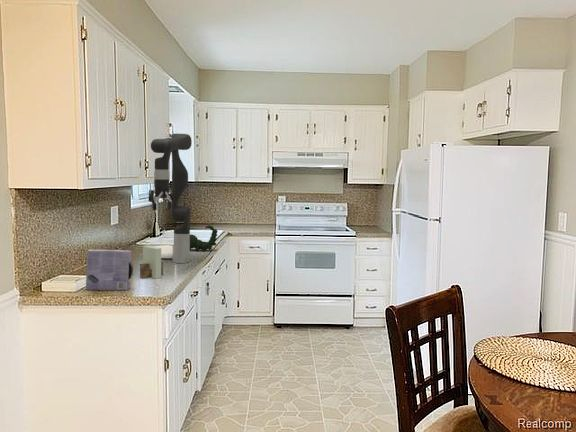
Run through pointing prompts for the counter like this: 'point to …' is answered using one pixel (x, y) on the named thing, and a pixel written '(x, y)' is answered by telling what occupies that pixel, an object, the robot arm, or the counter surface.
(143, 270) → the walnut u-shaped block
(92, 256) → the cake pan box
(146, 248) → the pale green plank
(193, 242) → the toy figurine
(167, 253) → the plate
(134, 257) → the counter surface
